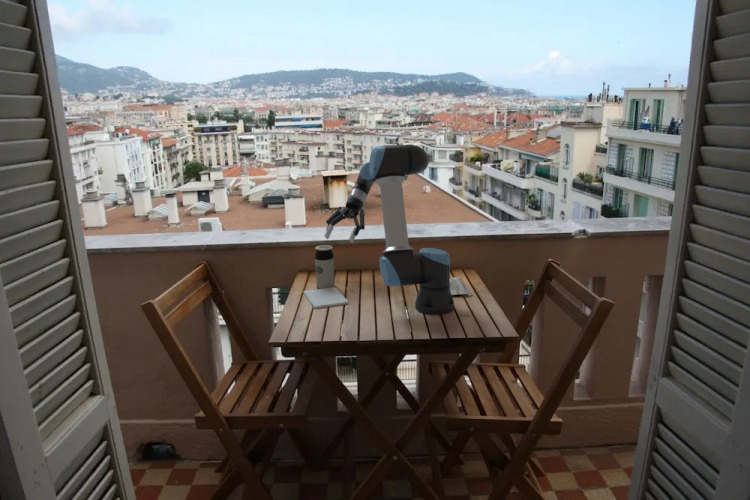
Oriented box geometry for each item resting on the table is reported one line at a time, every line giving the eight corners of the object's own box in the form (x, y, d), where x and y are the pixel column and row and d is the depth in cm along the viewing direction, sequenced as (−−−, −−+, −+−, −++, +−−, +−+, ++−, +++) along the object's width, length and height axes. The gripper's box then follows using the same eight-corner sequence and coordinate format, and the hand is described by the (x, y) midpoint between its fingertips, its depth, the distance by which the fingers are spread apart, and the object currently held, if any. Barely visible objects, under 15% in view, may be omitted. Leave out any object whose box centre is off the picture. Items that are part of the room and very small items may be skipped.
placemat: (348, 304, 222) (348, 301, 222) (314, 308, 218) (314, 306, 218) (335, 289, 241) (335, 287, 240) (303, 293, 236) (303, 291, 236)
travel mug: (328, 282, 250) (326, 244, 245) (338, 286, 244) (336, 247, 239) (313, 286, 245) (311, 247, 240) (323, 290, 239) (321, 250, 234)
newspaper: (473, 298, 228) (472, 292, 227) (443, 301, 228) (443, 295, 227) (464, 280, 250) (464, 275, 249) (437, 283, 250) (437, 278, 249)
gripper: (382, 207, 253) (364, 247, 245) (338, 203, 266) (320, 240, 258) (375, 198, 247) (357, 238, 239) (330, 194, 260) (312, 231, 252)
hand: (338, 239), depth 248 cm, fingers open, 13 cm apart
